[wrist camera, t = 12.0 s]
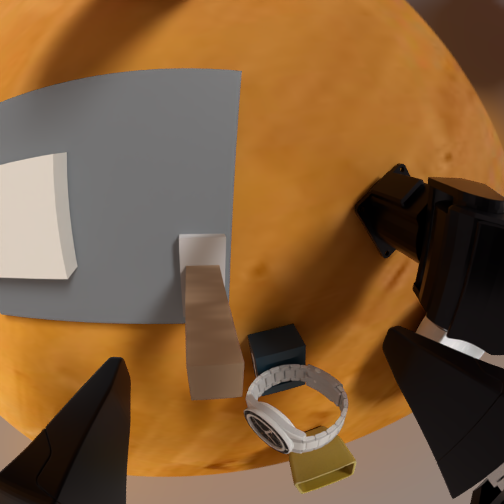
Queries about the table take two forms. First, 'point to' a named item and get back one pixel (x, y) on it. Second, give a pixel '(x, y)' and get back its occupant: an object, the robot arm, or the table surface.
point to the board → (128, 186)
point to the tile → (36, 219)
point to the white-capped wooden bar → (208, 319)
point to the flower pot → (321, 464)
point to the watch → (283, 378)
